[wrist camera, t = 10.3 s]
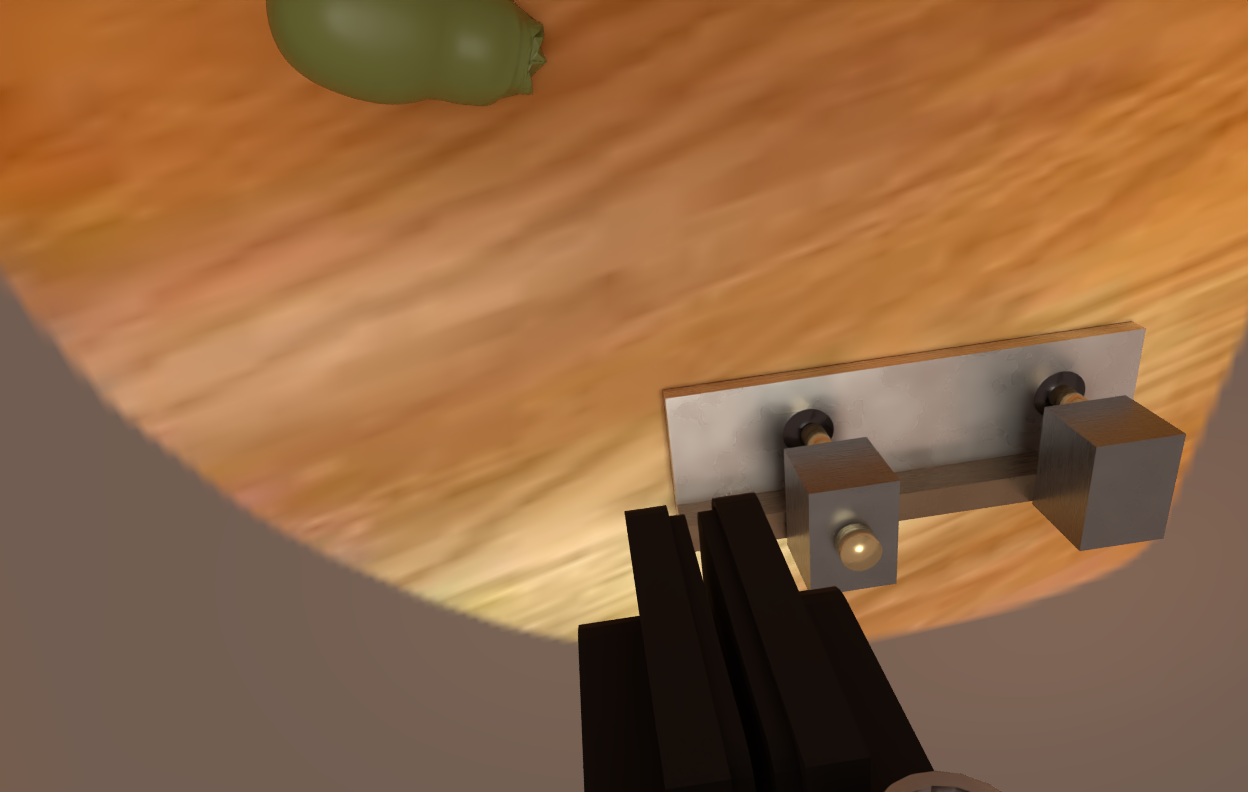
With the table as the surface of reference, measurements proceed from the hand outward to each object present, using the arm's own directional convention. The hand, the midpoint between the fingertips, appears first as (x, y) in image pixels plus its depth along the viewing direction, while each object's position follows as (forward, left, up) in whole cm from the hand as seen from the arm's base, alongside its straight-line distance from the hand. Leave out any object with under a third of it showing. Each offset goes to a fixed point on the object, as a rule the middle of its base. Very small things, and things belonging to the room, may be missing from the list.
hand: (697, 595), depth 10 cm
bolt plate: (-14, +14, -27) cm, 34 cm away
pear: (+6, -7, -28) cm, 29 cm away
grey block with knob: (-9, +15, -26) cm, 31 cm away
